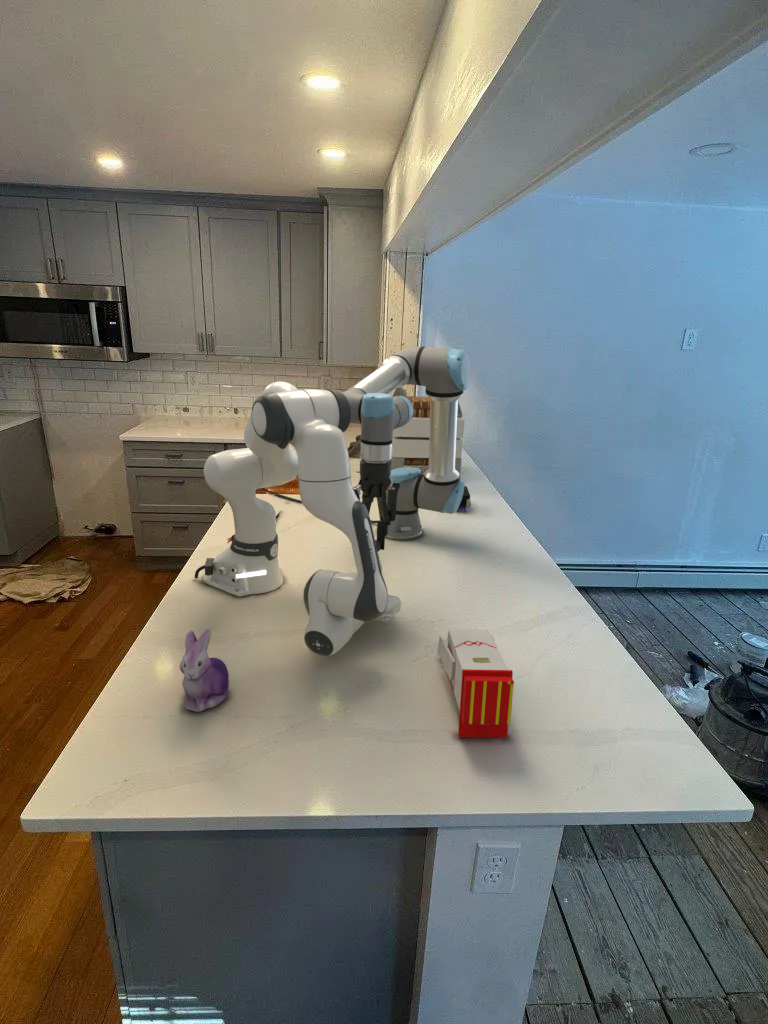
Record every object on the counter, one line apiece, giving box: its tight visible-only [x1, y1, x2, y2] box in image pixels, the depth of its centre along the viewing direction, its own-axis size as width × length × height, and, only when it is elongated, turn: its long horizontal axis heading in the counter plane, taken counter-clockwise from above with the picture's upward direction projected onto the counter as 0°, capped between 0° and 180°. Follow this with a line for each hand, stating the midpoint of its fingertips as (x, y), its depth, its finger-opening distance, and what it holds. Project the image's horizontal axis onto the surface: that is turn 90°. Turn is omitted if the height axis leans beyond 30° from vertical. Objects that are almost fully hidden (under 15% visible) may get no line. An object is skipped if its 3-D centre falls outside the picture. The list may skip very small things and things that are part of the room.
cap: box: [375, 539, 381, 553], centre depth 143 cm, size 4×4×2 cm
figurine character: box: [456, 485, 472, 513], centre depth 228 cm, size 7×8×15 cm
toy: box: [437, 628, 515, 738], centre depth 117 cm, size 12×13×30 cm
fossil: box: [347, 434, 361, 458], centre depth 305 cm, size 22×10×15 cm
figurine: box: [179, 628, 230, 713], centre depth 110 cm, size 9×10×15 cm
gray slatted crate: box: [390, 386, 465, 480], centre depth 268 cm, size 34×33×41 cm
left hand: (371, 587), depth 148 cm, fingers closed on bottle, 5 cm apart
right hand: (372, 549), depth 143 cm, fingers closed on cap, 4 cm apart
